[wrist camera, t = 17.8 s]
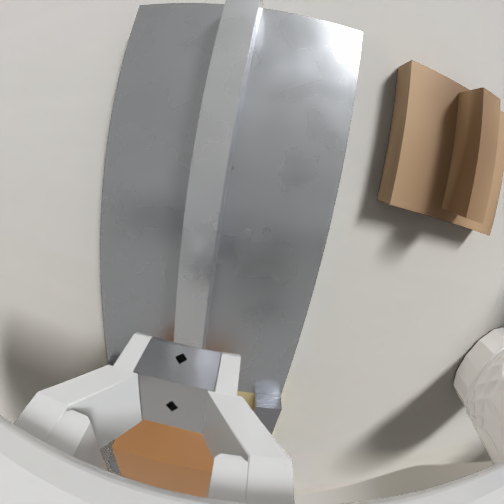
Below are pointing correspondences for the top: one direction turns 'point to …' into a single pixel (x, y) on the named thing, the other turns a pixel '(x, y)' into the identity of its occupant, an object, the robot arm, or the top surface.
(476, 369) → the white cup
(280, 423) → the top surface
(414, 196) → the pad
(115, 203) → the rail
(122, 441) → the orange notched block
